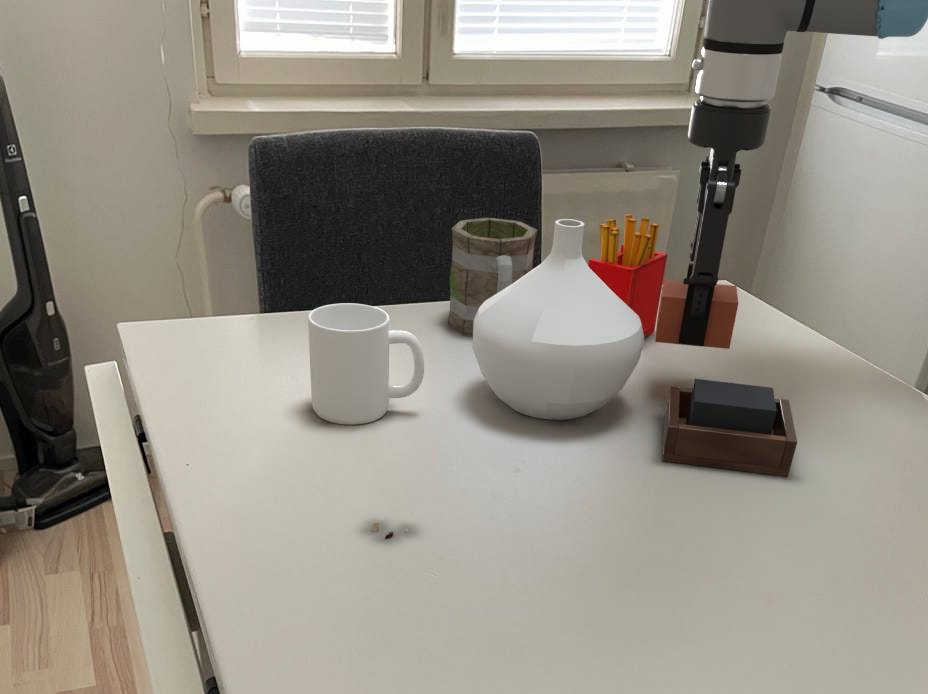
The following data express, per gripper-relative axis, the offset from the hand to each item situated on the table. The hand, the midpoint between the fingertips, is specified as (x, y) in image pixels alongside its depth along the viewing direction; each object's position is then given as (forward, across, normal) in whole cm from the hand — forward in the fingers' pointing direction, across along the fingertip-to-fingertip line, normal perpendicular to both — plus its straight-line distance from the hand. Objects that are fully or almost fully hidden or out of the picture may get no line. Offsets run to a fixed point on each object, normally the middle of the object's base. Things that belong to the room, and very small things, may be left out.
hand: (690, 333), depth 110 cm
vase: (+7, +7, -14) cm, 17 cm away
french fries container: (+7, -16, -8) cm, 19 cm away
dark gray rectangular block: (+6, +13, +5) cm, 15 cm away
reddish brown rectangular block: (0, 0, 0) cm, 0 cm away
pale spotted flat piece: (+7, +40, -25) cm, 48 cm away
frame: (+7, +13, +5) cm, 16 cm away
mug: (+7, -13, -24) cm, 28 cm away
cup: (+7, +15, -33) cm, 37 cm away
